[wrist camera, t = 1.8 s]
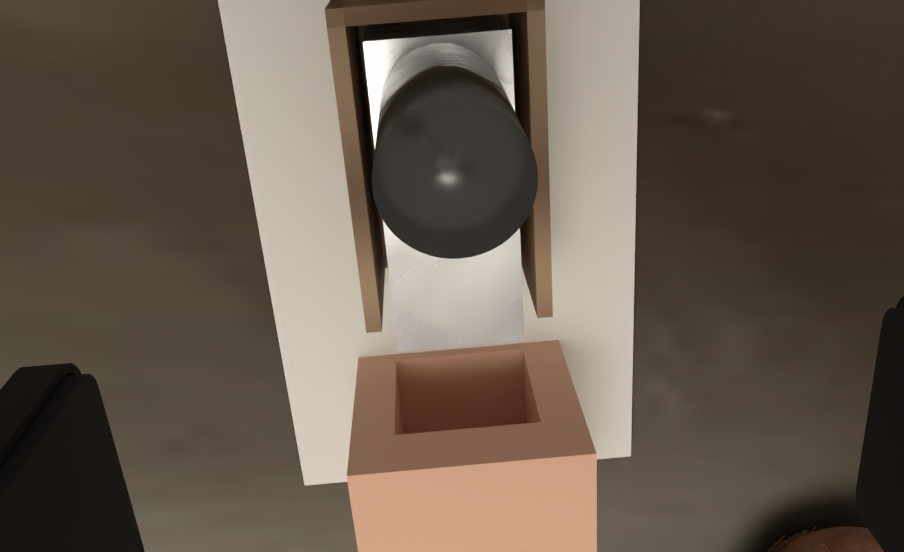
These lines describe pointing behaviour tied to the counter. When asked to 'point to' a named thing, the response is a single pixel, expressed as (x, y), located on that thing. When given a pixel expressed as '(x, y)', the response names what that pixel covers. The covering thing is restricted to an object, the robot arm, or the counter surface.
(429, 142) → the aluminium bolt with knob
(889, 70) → the counter surface
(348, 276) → the grey base board
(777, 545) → the onion
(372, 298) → the walnut sleeve
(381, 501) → the terracotta socket
